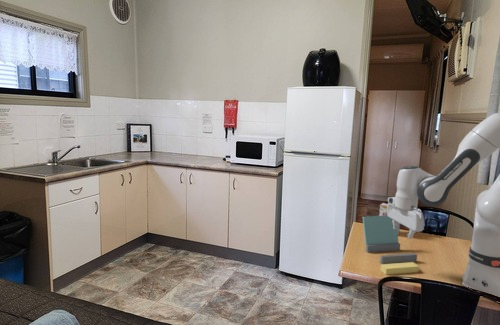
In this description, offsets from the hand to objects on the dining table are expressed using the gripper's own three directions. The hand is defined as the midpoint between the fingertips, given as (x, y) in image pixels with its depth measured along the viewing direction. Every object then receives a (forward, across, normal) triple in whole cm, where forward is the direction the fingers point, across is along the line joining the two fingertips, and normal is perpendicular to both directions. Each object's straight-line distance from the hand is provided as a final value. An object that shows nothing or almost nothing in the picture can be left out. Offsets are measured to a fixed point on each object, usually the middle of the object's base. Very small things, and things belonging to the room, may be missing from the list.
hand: (402, 233), depth 141 cm
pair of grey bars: (+17, +14, -5) cm, 23 cm away
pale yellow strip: (+18, 0, 0) cm, 18 cm away
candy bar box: (+18, +43, -23) cm, 52 cm away
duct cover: (+7, +23, -5) cm, 25 cm away
